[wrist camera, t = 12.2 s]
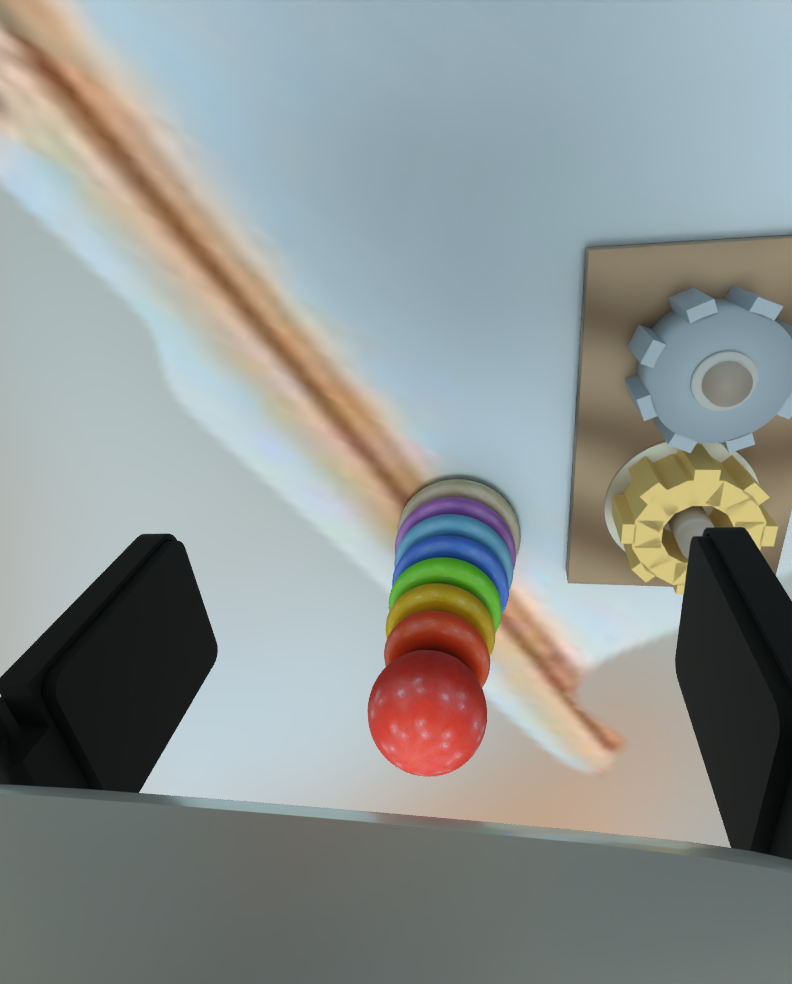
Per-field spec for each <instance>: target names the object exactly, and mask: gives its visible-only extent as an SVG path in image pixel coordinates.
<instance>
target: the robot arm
mask: <svg viewBox="0 0 792 984" xmlns="http://www.w3.org/2000/svg"><path fill="white" fill-rule="evenodd" d="M217 652H218V651H217V642H216V639H215V636H214V634H213V630H212V627H211V624H210V621H209V618H208V615H207V612H206V609H205V606H204V603H203V600H202V597H201V594H200V591H199V588H198V585H197V582H196V579H195V576H194V573H193V570H192V567H191V564H190V562H189V558H188V555H187V552H186V549H185V547H184V545H183V543H182V542H180V541H177V540H176V538H175V537H174V536H173V535H171V534H142V535H140V536H139V537H137V538H136V539H135V540H134V541H133V542H132V543H131V545H129V546H128V547H127V549H125V551H124V552H123V553H122V554H121V555H120V556H119V557H118V558H117V559H116V560H115V561H114V562H113V563H112V564H111V565H110V566H109V567H108V568H107V569H106V570H105V571H104V572H103V573H102V574H101V575H100V576H99V577H98V578H97V579H96V580H95V581H94V582H93V583H92V584H91V585H90V586H89V587H88V588H87V589H86V591H84V593H83V594H82V595H81V596H80V597H79V598H78V599H77V600H76V601H75V602H74V603H73V604H72V605H71V606H70V607H69V608H68V609H67V610H66V611H65V612H64V613H63V614H62V615H61V616H60V617H59V618H58V619H57V620H56V621H55V622H54V623H53V624H52V625H51V626H50V627H49V628H48V630H46V631H45V633H43V634H42V635H41V636H40V638H39V639H38V640H37V641H36V642H35V643H34V644H33V645H32V646H31V647H30V648H29V649H28V650H27V651H26V652H25V653H24V654H23V655H22V656H21V657H20V658H19V659H18V660H17V661H16V662H15V663H14V664H13V665H12V666H11V667H10V668H9V669H8V670H7V671H6V672H5V673H4V674H3V675H2V676H1V678H0V694H1V697H0V984H792V601H791V599H790V598H789V596H788V595H787V593H786V592H785V590H784V588H783V587H782V585H781V583H780V582H779V580H778V579H777V577H776V575H775V574H774V572H773V571H772V569H771V568H770V566H769V564H768V563H767V561H766V560H765V558H764V556H763V555H762V553H761V552H760V550H759V548H758V547H757V545H756V544H755V542H754V540H753V539H752V537H751V536H750V534H749V532H748V531H747V530H746V529H745V528H743V527H707V528H706V529H705V530H704V532H703V535H702V536H693V537H692V539H691V542H690V549H689V556H688V564H687V572H686V580H685V587H684V595H683V603H682V610H681V618H680V626H679V634H678V641H677V649H676V658H675V661H676V662H675V663H676V673H677V678H678V682H679V685H680V688H681V691H682V694H683V697H684V701H685V704H686V707H687V710H688V713H689V716H690V719H691V722H692V726H693V729H694V732H695V735H696V738H697V741H698V745H699V748H700V751H701V754H702V757H703V760H704V764H705V766H706V770H707V773H708V776H709V779H710V782H711V785H712V788H713V792H714V795H715V798H716V801H717V804H718V808H719V811H720V814H721V817H722V820H723V823H724V827H725V830H726V833H727V836H728V839H729V842H730V845H731V848H727V847H720V846H713V845H706V844H700V843H693V842H685V841H675V840H665V839H656V838H647V837H637V836H628V835H618V834H609V833H599V832H590V831H580V830H571V829H560V828H548V827H537V826H525V825H514V824H503V823H492V822H481V821H470V820H458V819H447V818H436V817H424V816H413V815H402V814H389V813H378V812H366V811H354V810H342V809H331V808H318V807H306V806H294V805H281V804H270V803H258V802H246V801H234V800H221V799H208V798H195V797H182V796H169V795H156V794H143V793H139V792H140V790H141V788H142V787H143V785H144V783H145V781H146V779H147V778H148V776H149V775H150V773H151V771H152V769H153V768H154V766H155V764H156V763H157V761H158V759H159V757H160V756H161V754H162V752H163V751H164V749H165V747H166V745H167V744H168V742H169V740H170V739H171V737H172V735H173V733H174V732H175V730H176V728H177V727H178V725H179V723H180V722H181V720H182V718H183V716H184V715H185V713H186V711H187V709H188V708H189V706H190V704H191V703H192V701H193V699H194V697H195V696H196V694H197V692H198V691H199V689H200V687H201V685H202V684H203V682H204V680H205V678H206V677H207V675H208V674H209V672H210V670H211V668H212V667H213V665H214V663H215V661H216V657H217Z"/></svg>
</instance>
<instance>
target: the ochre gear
mask: <svg viewBox="0 0 792 984" xmlns="http://www.w3.org/2000/svg"><path fill="white" fill-rule="evenodd" d="M628 470H629V473H630V475H631V478H632V482H631V483H630V484H629V485H628V487H627V488H626V489H625V491H624V495H613V500H612V511H611V514H612V517H613V520H614V523H615V526H616V529H617V533H618V536H619V539H620V542H621V544H623V545H624V548H625V551H626V554H627V558H628V561H629V564H630V567H631V570H632V571H634V572H635V573H636V574H637V575H638V576H639V577H640V578H641V579H642V580H643V581H645V582H648V581H649V580H651V579H652V578H653V577H655V576H656V577H658V578H660V579H662V580H664V581H666V582H668V583H670V584H672V585H673V588H674V590H675V592H676V594H684V587H685V580H686V572H687V564H688V559H687V558H686V557H685V556H684V555H683V554H682V552H681V550H680V548H679V546H678V544H677V542H676V539H675V537H674V535H673V533H672V531H668V530H666V529H664V528H663V527H664V526H665V524H666V523H667V522H668V521H669V520H670V519H671V517H672V516H673V515H674V514H675V513H677V512H680V511H682V510H684V509H687V508H689V507H691V506H713V509H712V512H711V514H710V515H709V516H708V517H709V519H710V521H711V522H712V524H713V525H714V527H743V528H745V529H746V530H747V531H748V532H749V534H750V536H751V537H752V539H753V540H754V542H755V544H756V545H757V547H758V548H759V550H760V549H761V546H774V543H775V539H776V534H777V530H778V525H777V524H776V523H775V522H774V520H773V519H772V518H771V517H770V515H769V514H768V513H767V512H766V510H765V509H764V508H763V506H762V505H761V503H763V502H764V501H766V500H767V499H769V498H770V497H769V496H768V495H767V493H766V492H765V491H764V490H763V489H762V487H761V486H760V485H759V484H758V483H757V481H756V480H755V479H754V478H753V477H752V475H751V474H750V473H749V472H748V471H747V469H746V468H745V467H744V466H743V465H742V464H741V463H740V462H739V461H738V460H737V459H736V458H735V457H734V456H733V455H731V456H730V457H728V458H727V459H726V460H724V461H723V462H720V461H718V460H716V459H714V458H712V457H711V456H710V454H709V453H708V452H707V450H706V449H705V448H704V446H703V445H702V444H696V445H695V447H694V448H693V450H692V452H691V453H688V452H686V451H683V450H680V449H678V448H677V454H670V455H668V456H666V457H664V458H662V459H660V460H658V461H655V462H652V461H650V460H649V459H648V458H647V457H646V456H644V457H642V458H641V459H640V460H639V461H637V462H636V463H635V464H634V465H632V466H631V467H630V468H629V469H628Z"/></svg>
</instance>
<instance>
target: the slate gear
mask: <svg viewBox="0 0 792 984" xmlns="http://www.w3.org/2000/svg"><path fill="white" fill-rule="evenodd" d="M668 299H669V302H670V305H671V308H672V310H671V311H670V312H668V313H667V314H666V315H664V316H663V317H662V318H661V319H660V320H659V321H658V322H657V323H656V324H655V325H654V326H653V327H652V328H651V329H650V328H647V327H645V326H642V325H638V327H637V329H636V331H635V333H634V335H633V337H632V339H631V341H630V343H629V344H628V347H629V349H630V350H631V351H632V353H633V354H634V355H635V357H636V358H637V368H636V371H637V375H635V376H632V377H630V378H627V379H624V380H625V383H626V385H627V388H628V391H629V394H630V397H631V399H632V401H633V403H634V405H635V406H636V408H637V410H638V412H639V413H640V415H641V417H642V419H643V420H644V421H646V420H649V419H651V418H654V417H655V419H654V423H655V424H656V426H657V428H658V429H659V431H660V433H661V434H662V436H663V437H664V439H665V441H666V442H667V444H668V445H670V446H672V447H675V448H678V449H680V450H683V451H686V452H688V453H691V452H692V450H693V448H694V447H695V445H696V444H697V442H702V443H721V444H722V445H723V446H724V447H725V449H726V450H727V451H728V452H729V453H731V452H734V451H737V450H740V449H743V448H746V447H749V446H752V445H755V441H754V438H753V434H752V432H754V431H756V430H758V429H759V428H761V427H762V426H764V425H765V424H767V423H768V422H769V421H770V420H771V419H773V418H774V417H775V416H776V415H779V416H782V417H784V418H787V419H790V418H791V417H792V326H791V325H789V324H787V323H785V322H783V321H781V320H779V319H777V320H775V319H776V317H777V316H778V314H779V313H780V311H781V309H782V308H783V306H781V305H779V304H777V303H775V302H772V301H770V300H768V299H766V298H763V297H761V296H759V295H757V294H754V293H752V292H749V291H746V290H744V289H741V288H738V287H736V286H733V285H732V286H731V288H730V290H729V292H728V293H727V295H726V297H725V298H713V297H710V296H708V295H706V294H705V293H703V292H701V291H699V290H697V289H696V288H694V287H692V288H690V289H687V290H685V291H683V292H680V293H678V294H676V295H673V296H671V297H669V298H668ZM725 361H733V362H737V363H739V364H741V365H742V366H744V367H745V368H746V369H747V370H748V371H749V372H750V373H751V375H752V378H753V387H752V390H751V392H750V394H749V395H748V396H747V397H746V399H744V400H743V401H742V402H740V403H739V404H737V405H734V406H731V407H719V406H716V405H714V404H712V403H711V402H710V401H709V400H708V399H707V398H706V397H705V395H704V394H703V391H702V380H703V377H704V375H705V374H706V372H707V371H708V370H709V369H710V368H711V367H713V366H714V365H716V364H718V363H721V362H725Z"/></svg>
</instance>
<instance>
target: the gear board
mask: <svg viewBox="0 0 792 984" xmlns="http://www.w3.org/2000/svg"><path fill="white" fill-rule="evenodd" d="M732 285H733V286H736V287H738V288H741V289H744V290H746V291H749V292H752V293H754V294H757V295H759V296H761V297H763V298H766V299H768V300H770V301H772V302H775V303H777V304H779V305H781V306H783V308H782V309H781V311H780V313H779V314H778V316H777V317H776V319H775V320H777V319H779V320H781V321H783V322H785V323H787V324H789V325H791V326H792V235H783V236H767V237H750V238H734V239H717V240H701V241H684V242H668V243H651V244H635V245H618V246H602V247H586V253H585V269H584V285H583V302H582V318H581V334H580V350H579V367H578V383H577V399H576V416H575V432H574V448H573V464H572V481H571V497H570V513H569V530H568V546H567V562H566V573H567V580H568V583H579V584H610V585H640V586H670V587H673V585H672V584H670V583H668V582H666V581H664V580H662V579H660V578H658V577H656V576H655V577H653V578H652V579H651V580H649V581H648V582H645V581H643V580H642V579H641V578H640V577H639V576H638V575H637V574H636V573H635V572H634V571H632V570H631V567H630V564H629V561H628V558H627V554H626V551H625V548H624V545H623V544H621V542H620V539H619V536H618V533H617V529H616V526H615V523H614V520H613V517H612V514H611V511H612V500H613V495H624V491H625V489H626V488H627V487H628V485H629V484H630V483H631V482H632V478H631V475H630V473H629V470H628V469H629V468H630V467H631V466H632V465H634V464H635V463H636V462H637V461H639V460H640V459H641V458H642V457H644V456H646V457H647V458H648V459H649V460H650V461H652V462H655V461H658V460H660V459H662V458H664V457H666V456H668V455H670V454H677V448H675V447H672V446H670V445H668V444H667V442H666V441H665V439H664V437H663V436H662V434H661V433H660V431H659V429H658V428H657V426H656V424H655V423H654V419H655V417H654V418H651V419H649V420H646V421H644V420H643V419H642V417H641V415H640V413H639V412H638V410H637V408H636V406H635V405H634V403H633V401H632V399H631V397H630V394H629V391H628V388H627V385H626V383H625V380H624V379H627V378H630V377H632V376H635V375H637V371H636V368H637V358H636V357H635V355H634V354H633V353H632V351H631V350H630V349H629V347H628V344H629V343H630V341H631V339H632V337H633V335H634V333H635V331H636V329H637V327H638V325H642V326H645V327H647V328H650V329H651V328H652V327H653V326H654V325H655V324H656V323H657V322H658V321H659V320H660V319H661V318H662V317H663V316H664V315H666V314H667V313H668V312H670V311H671V310H672V308H671V305H670V302H669V299H668V298H669V297H671V296H673V295H676V294H678V293H680V292H683V291H685V290H687V289H690V288H692V287H694V288H696V289H697V290H699V291H701V292H703V293H705V294H706V295H708V296H710V297H713V298H725V297H726V295H727V293H728V292H729V290H730V288H731V286H732ZM752 387H753V378H752V375H751V373H750V372H749V371H748V370H747V369H746V368H745V367H744V366H742V365H741V364H739V363H737V362H733V361H725V362H721V363H718V364H716V365H714V366H713V367H711V368H710V369H709V370H708V371H707V372H706V374H705V375H704V377H703V380H702V391H703V394H704V395H705V397H706V398H707V399H708V400H709V401H710V402H711V403H712V404H714V405H716V406H719V407H731V406H734V405H737V404H739V403H740V402H742V401H743V400H744V399H746V397H747V396H748V395H749V394H750V392H751V390H752ZM752 434H753V438H754V441H755V445H752V446H749V447H746V448H743V449H740V450H737V451H734V452H731V453H729V452H728V451H727V450H726V449H725V447H724V446H723V445H722V444H721V443H702V442H697V444H702V445H703V446H704V448H705V449H706V450H707V452H708V453H709V454H710V456H711V457H712V458H714V459H716V460H718V461H720V462H723V461H724V460H726V459H727V458H728V457H730V456H731V455H733V456H734V457H735V458H736V459H737V460H738V461H739V462H740V463H741V464H742V465H743V466H744V467H745V468H746V469H747V471H748V472H749V473H750V474H751V475H752V477H753V478H754V479H755V480H756V481H757V483H758V484H759V485H760V486H761V487H762V489H763V490H764V491H765V492H766V493H767V495H768V496H769V497H770V498H769V499H767V500H766V501H764V502H763V503H761V505H762V506H763V508H764V509H765V510H766V512H767V513H768V514H769V515H770V517H771V518H772V519H773V520H774V522H775V523H776V524H777V525H778V530H777V534H776V539H775V543H774V546H761V549H760V552H761V553H762V555H763V556H764V558H765V560H766V561H767V563H768V564H769V566H770V568H771V569H772V571H773V572H774V574H775V575H776V572H777V568H778V564H779V559H780V555H781V551H782V547H783V543H784V539H785V535H786V531H787V527H788V523H789V518H790V514H791V510H792V417H791V418H790V419H787V418H784V417H782V416H779V415H776V416H775V417H774V418H773V419H771V420H770V421H769V422H768V423H767V424H765V425H764V426H762V427H761V428H759V429H758V430H756V431H754V432H752ZM712 509H713V506H691V507H689V508H687V509H684V510H682V511H680V512H677V513H675V514H674V515H673V516H672V517H671V519H670V520H669V521H668V522H667V523H666V524H665V526H664V527H663V528H664V529H666V530H668V531H672V533H673V535H674V537H675V539H676V542H677V544H678V546H679V548H680V550H681V552H682V554H683V555H684V556H685V557H686V558H687V559H688V556H689V549H690V542H691V539H692V537H693V536H702V535H703V532H704V530H705V529H706V528H707V527H714V525H713V524H712V522H711V521H710V519H709V517H708V516H709V515H710V514H711V512H712Z"/></svg>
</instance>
